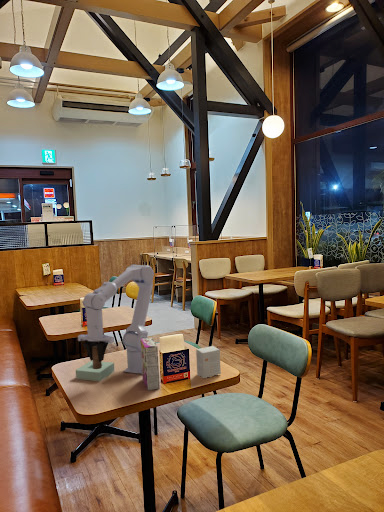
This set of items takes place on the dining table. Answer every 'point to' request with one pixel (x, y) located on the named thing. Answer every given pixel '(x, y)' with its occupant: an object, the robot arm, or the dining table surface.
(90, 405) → the dining table surface
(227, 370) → the dining table surface
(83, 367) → the socket block
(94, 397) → the dining table surface
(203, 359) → the small box
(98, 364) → the walnut peg
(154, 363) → the candy bar box
